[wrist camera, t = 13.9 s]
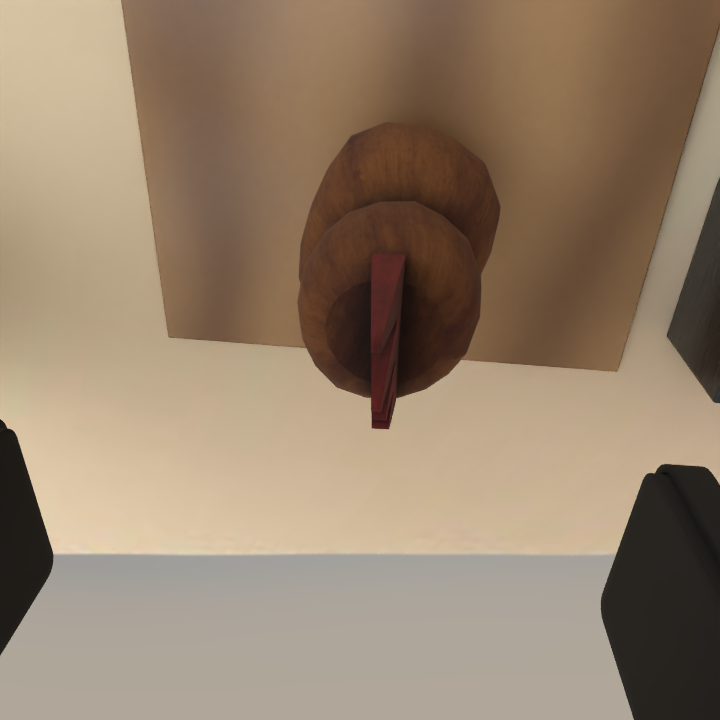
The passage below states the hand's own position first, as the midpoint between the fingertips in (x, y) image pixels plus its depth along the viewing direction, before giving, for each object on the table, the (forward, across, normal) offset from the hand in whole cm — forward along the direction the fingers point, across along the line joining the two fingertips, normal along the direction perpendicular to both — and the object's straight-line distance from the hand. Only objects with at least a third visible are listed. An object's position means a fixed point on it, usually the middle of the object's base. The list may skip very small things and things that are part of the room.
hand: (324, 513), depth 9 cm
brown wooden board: (+17, -1, 0) cm, 17 cm away
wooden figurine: (+17, -1, 0) cm, 17 cm away
